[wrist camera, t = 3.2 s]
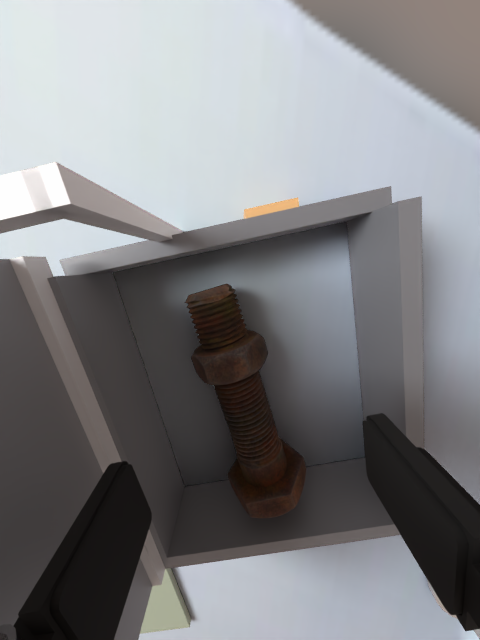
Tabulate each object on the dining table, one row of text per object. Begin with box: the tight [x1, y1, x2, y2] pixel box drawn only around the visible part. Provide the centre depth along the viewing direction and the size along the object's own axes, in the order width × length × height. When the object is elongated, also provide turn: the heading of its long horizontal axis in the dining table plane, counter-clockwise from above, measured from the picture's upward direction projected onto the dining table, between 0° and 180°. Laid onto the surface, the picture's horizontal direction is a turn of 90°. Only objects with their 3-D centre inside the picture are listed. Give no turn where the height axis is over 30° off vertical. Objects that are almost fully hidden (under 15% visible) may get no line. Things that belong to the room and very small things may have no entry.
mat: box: [140, 568, 191, 634], centre depth 23 cm, size 16×16×1 cm
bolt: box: [185, 284, 306, 518], centre depth 16 cm, size 6×5×15 cm
